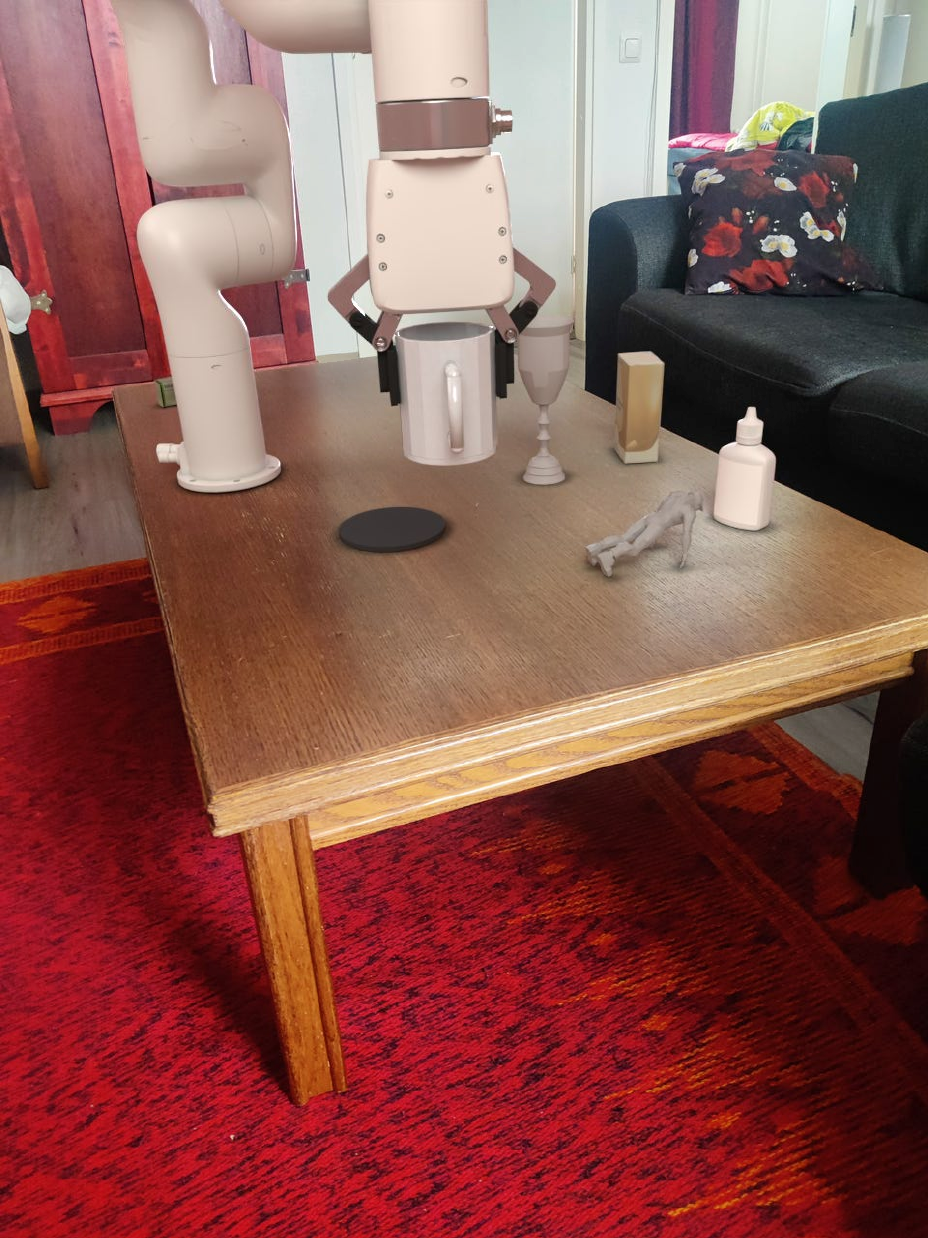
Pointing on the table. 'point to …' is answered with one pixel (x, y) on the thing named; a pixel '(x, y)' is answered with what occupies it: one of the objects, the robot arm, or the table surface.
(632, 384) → the cosmetic box
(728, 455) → the eye dropper bottle
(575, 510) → the table surface
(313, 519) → the table surface
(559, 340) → the chalice
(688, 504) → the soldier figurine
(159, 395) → the medication box
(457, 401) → the coffee mug
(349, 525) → the coaster
